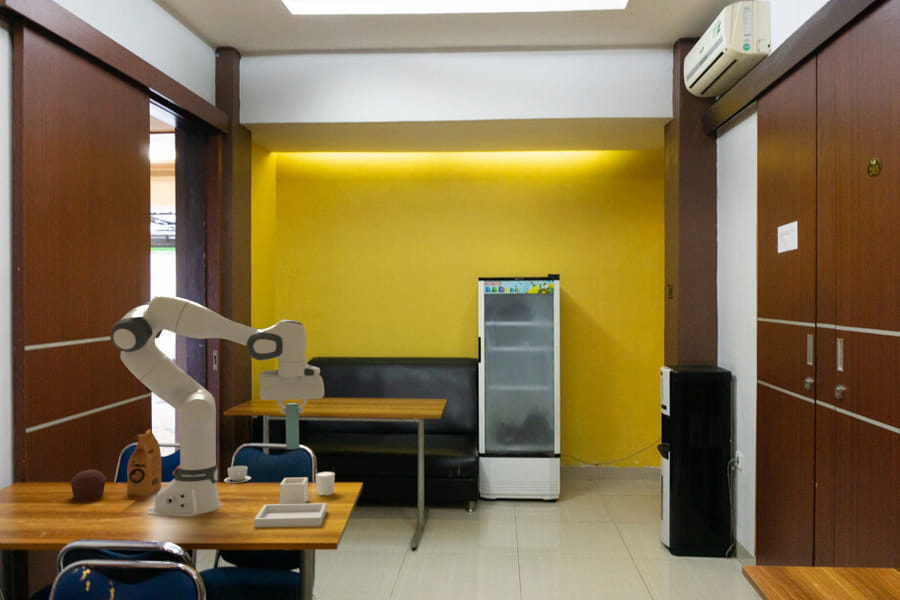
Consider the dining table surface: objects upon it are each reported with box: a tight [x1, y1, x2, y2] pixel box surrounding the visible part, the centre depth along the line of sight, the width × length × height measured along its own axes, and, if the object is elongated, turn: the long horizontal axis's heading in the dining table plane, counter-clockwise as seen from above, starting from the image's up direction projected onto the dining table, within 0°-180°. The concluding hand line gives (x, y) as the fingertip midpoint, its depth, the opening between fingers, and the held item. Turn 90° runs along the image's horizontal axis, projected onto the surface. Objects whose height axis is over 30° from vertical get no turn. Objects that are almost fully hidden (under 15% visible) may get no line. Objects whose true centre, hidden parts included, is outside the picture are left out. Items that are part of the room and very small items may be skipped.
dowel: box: [285, 402, 300, 450], centre depth 204 cm, size 4×4×14 cm
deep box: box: [279, 476, 309, 504], centre depth 216 cm, size 8×8×8 cm
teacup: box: [223, 465, 252, 484], centre depth 247 cm, size 10×10×5 cm
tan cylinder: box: [315, 471, 336, 496], centre depth 229 cm, size 7×7×7 cm
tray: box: [253, 502, 327, 528], centre depth 201 cm, size 20×14×3 cm
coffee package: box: [126, 429, 162, 497], centre depth 230 cm, size 10×12×22 cm
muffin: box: [69, 469, 108, 501], centre depth 222 cm, size 12×11×10 cm
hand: (292, 413), depth 204 cm, fingers closed on dowel, 4 cm apart
